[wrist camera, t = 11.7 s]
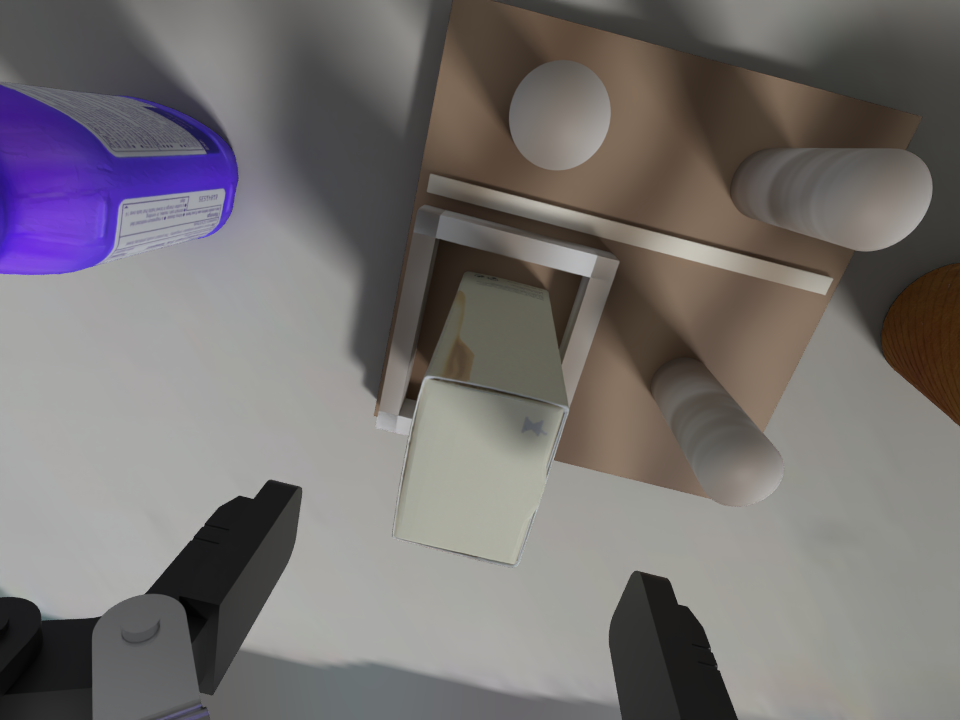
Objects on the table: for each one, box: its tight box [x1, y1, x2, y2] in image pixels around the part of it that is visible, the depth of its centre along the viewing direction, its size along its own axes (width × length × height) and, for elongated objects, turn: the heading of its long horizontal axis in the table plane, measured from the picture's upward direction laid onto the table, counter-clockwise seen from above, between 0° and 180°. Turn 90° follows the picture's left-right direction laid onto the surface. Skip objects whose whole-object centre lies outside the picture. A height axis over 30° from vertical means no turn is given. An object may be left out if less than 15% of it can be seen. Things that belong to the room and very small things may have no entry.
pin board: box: [374, 0, 933, 507], centre depth 23 cm, size 20×20×10 cm
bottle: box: [0, 82, 238, 275], centre depth 19 cm, size 7×6×17 cm
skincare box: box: [392, 271, 569, 568], centre depth 22 cm, size 6×4×12 cm
